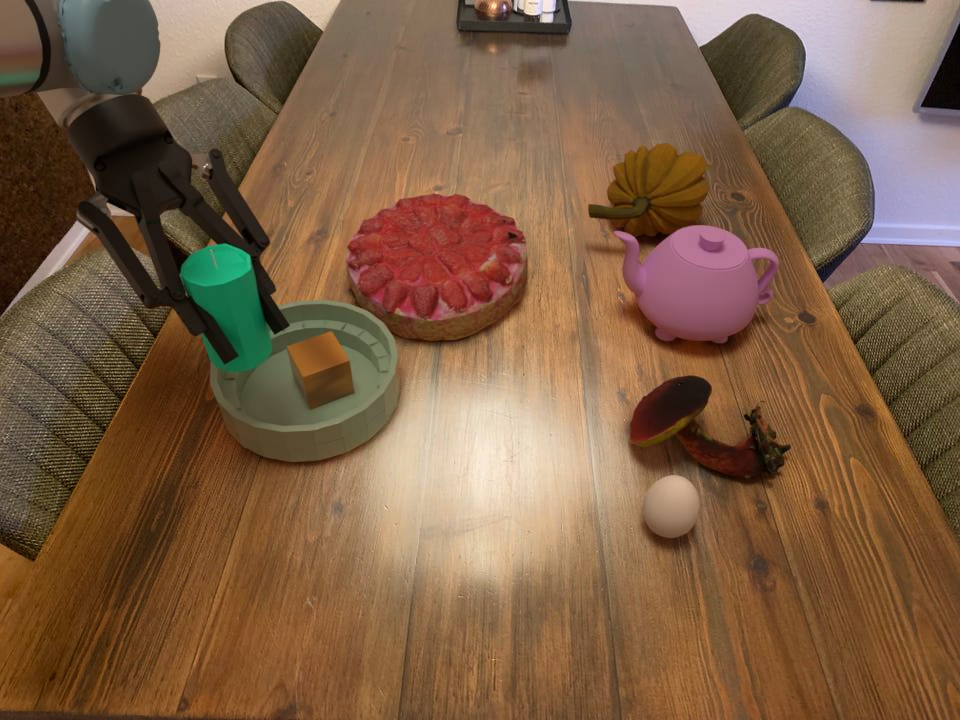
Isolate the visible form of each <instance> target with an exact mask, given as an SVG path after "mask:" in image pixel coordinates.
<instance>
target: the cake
mask: <svg viewBox="0 0 960 720" xmlns="http://www.w3.org/2000/svg"><path fill="white" fill-rule="evenodd" d="M516 223H517V222H516V219H515V218H514V217H510V216H507V215H505V214H502V213H500V212H498V211H496V210H494V209H493V208H492V207H490V206H489V205H488V204H483V203H480V202H476V201H474V200H473V199H472V198H470V197H468V196H466V195H463V194H457V193H454V194H452V195H442V194H438V193H434V192H433V193H430V194H423V195H418V196H413V197H404V198H399V199H398V200H397V202H396V203H395V204H393V205H391V206H389V207H385V208H382V209H381V210H379V211H378V212H377V213H376V214H375V215H374V216H372V217H370V218H367V219H363V220H362V222H361V224H360V227H359V228H358V230H356V232H355V233H354V235H353V236H352V237H351V239H350V241H349V243H347V246H346V251H345V263H346V277H347V280H348V284H349V286H350V290H351V291H352V292H353V293H354V294H353V295H354V296H355V300H356V304H358V306H359V308H361V309H364V310H367V311H368V312H370V313H371V314H372V315H374V316H375V317H377V318H378V319H379V320H381V321H382V322H383V323H384V324H385V325H386V327H387V328H388V330H389V331H390V332H391V333H393V334H395V335H397V336H399V337H401V338H403V339H407V340H409V339H413V340H414V339H419V340H424V341H428V342H439V341H456V340H460V339H463V338H465V337H469V336H472V335H473V334H475V333H478V332H481V330H483V329H484V328H487V327H488V326H490V325H491V324H494V323H495V322H497V321H499V320H500V318H502V317H503V316H504V315H505V314H506V313H507V312H509V311H510V310H511V309H513V307H514V306H515V305H516V304H517V303H518V302H519V301H520V299H521V298H522V296H523V294H524V292H525V288H526V285H527V281H528V276H529V275H528V274H529V273H528V271H529V270H528V269H529V267H528V266H529V263H528V262H529V261H528V259H529V257H528V247H527V240H526V239H527V238H526V236H525V235H524V232H523V231H522V230H520V228H519V227H518V226H517V224H516Z"/></svg>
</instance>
